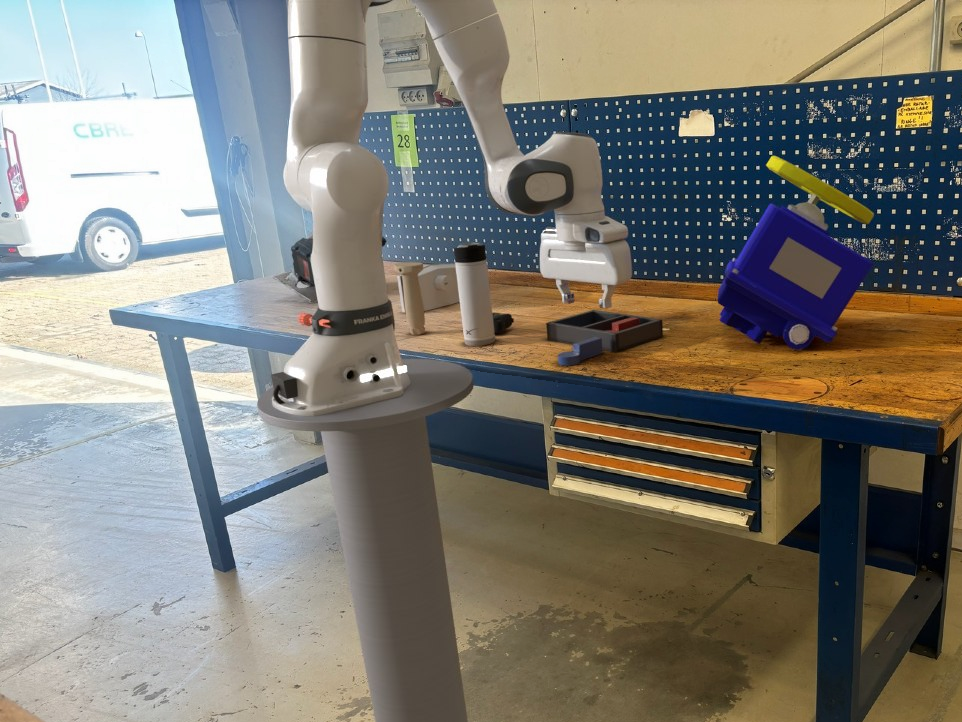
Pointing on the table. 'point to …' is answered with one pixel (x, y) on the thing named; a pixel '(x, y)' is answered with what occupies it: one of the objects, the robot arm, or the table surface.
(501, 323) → the tape measure
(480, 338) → the travel mug
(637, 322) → the red stepped block
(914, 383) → the table surface
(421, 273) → the lock
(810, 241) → the control box
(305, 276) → the circular saw
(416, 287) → the handle
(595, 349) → the blue stepped block
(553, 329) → the sorting tray
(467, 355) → the table surface
